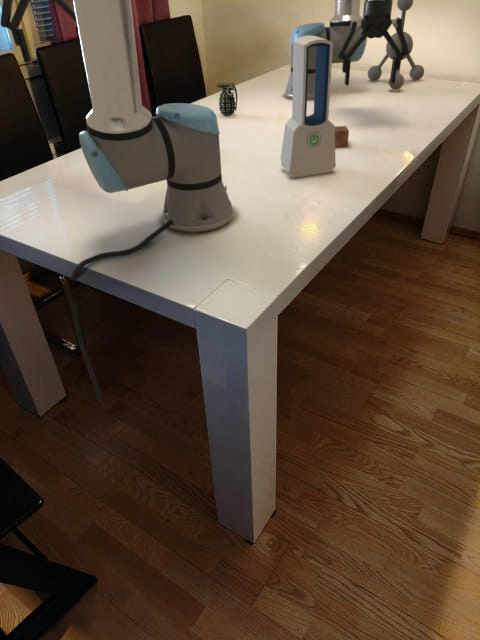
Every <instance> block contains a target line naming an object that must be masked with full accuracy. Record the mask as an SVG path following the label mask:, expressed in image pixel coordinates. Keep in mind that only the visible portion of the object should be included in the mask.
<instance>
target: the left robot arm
mask: <svg viewBox="0 0 480 640" xmlns="http://www.w3.org/2000/svg"><path fill="white" fill-rule="evenodd" d="M53 1H54V2H55V3H56V4H57V5H58V6H59V7H60V8H61V9H62V10H63V11H64V12H65V13H66V14H67V15H68V16H69V17H70V18H71V19H72V20H73V21H74V22H75V23H76V24H77V25H76V26H75V27H74V28H75V33H76V36H77V41H78V45H79V46H78V47H79V50H80V55H81V59H82V60H83V63H84V69H85V73H86V79H87V84H88V85H87V86H88V90H89V95H90V102H91V106H92V109H91V110H90V111H89V112H88V113H87V115H86V116H85V120H86V121H85V123H86V127H87V130H85V129H84V130H82V131H81V132H79V134H78V137H79V138H78V139H79V145H80V148H81V151H82V153H83V157H84V159H85V161H86V163H87V166H88V168H89V170H90V172H91V174H92V177H93V178H94V180H95V181H96V183H97V185H98V186H99V187H100V189H101V190H102V191H104V192H106V193H109V194H114V193H117V192H119V193H120V192H124V191H125V192H128V191H129V190H131V189H136V188H140V187H143V186H147V185H151V184H155V183H160V182H163V181H166V190H165V191H166V192H165V196H164V203H163V207H162V218H163V222H164V224H162V225H161V226H160V227H159V228H157V229H156V230H155V231H153V232H152V233H150V234H149V235H148V236H147V237H145V238H144V239H143V240H142V241H141V242H140V243H138V244H137V245H135V246H132V247H131V248H130V247H129V248H127V249H123V250H114V251H107V252H102V253H98V254H95V255H93V256H90V257H87V258H85V259H84V260H82V261H80V262H79V263H78V264H77V265H76V266H75V268H74V269H73V271H72V273H71V276H70V278H69V279H70V281H72V282H73V281H75V280H77V278H78V276H79V275H80V272H81V270H83V268H84V267H85V266H87V265H89V264H91V263H94V262H97V261H99V260H103V259H106V258H114V257H122V256H128V255H131V254H134V253H136V252H138V251H140V250H141V249H143V248H144V247H145V246H147V245H148V244H149V243H150V242H151V241H152V240H153V239H155V238H156V237H158V236H159V235H160V234H161V233H163V232H164V231H166V230H167V229H168V228H169V229H171V230H173V231H177V232H180V233H190V234H191V233H192V234H193V233H194V234H195V233H196V234H197V233H205V232H206V233H207V232H210V231H215V230H216V229H220V228H222V227H224V226H226V225H227V224H228V223H230V221H231V220H232V218H233V216H234V212H233V211H234V210H233V205H232V201H231V200H230V197H229V195H228V192H227V191H228V188H227V187H228V186H227V185H225V184H224V182H223V175H222V174H223V173H222V161H221V159H222V158H221V147H220V146H221V145H220V133H221V132H220V129H219V124H218V117H217V114H216V112H215V111H214V110H213V109H212V108H209V107H208V106H204V105H201V104H194V103H185V102H179V103H178V102H175V103H173V102H172V103H163V104H161V105H158V106H157V107H156V110H155V116H153V115H152V113H151V111H150V110H148V109H147V108H146V107H145V106H143V100H142V99H143V98H142V90H141V82H140V73H139V63H138V54H137V53H138V52H137V45H136V44H137V43H136V35H135V28H134V18H133V17H134V16H133V7H132V0H71V1H72V3H73V6H72V5H71V4H70V3H69V2H68V1H67V0H53ZM13 2H14V0H2V8H1V15H0V26H1V27H2V28H6V29H9V30H10V31H11V35H12V37H13V38H12V39H13V42H14V45H15V46H16V47H19V49H20V52H21V55H22V59H23V62H24V63H30V62H31V61H32V58H31V54H30V50H29V47H28V43H27V39H26V36H25V32H24V29H23V28H20V25H21V22H22V20H23V17H24V16H25V13H26V11H27V8H28V6H29V3H30V2H31V0H19V1H18V4H17V6H16V9H15V11H14V13H13V16H12V9H13ZM11 17H12V18H11ZM152 117H154V118H152ZM70 305H71V313H72V319H73V325H74V330H75V334H76V338H77V342H78V346H79V349H80V352H81V354H82V358H83V361H84V364H85V366H86V369H87V371H88V374H89V377H90V380H91V382H92V386H93V388H94V391H95V395H96V399H97V401H98V402H102V401H103V400H104V399H103V396H102V392H101V390H100V386H99V383H98V380H97V377H96V374H95V371H94V369H93V366H92V364H91V360H90V357H89V355H88V352H87V349H86V346H85V345H86V344H85V342H84V338H83V334H82V330H81V325H80V319H79V311H78V303H77V300H75V299H72V298H71V299H70Z"/></svg>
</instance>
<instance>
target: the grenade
mask: <svg viewBox="0 0 480 640" xmlns="http://www.w3.org/2000/svg"><path fill="white" fill-rule="evenodd" d="M215 87H217V88H219V89H221V93H219V97H218V101H219V102H218V106H219V108H218V109H219V112H220V114H221V115H222V116H224V117H231V116H233V115H234V113H235V112H236V111H237V108H238V89H237V87H236V85H235V84H234V83H233V82H218V83H217V84H216V86H215ZM232 91H233V92H232ZM234 94H235V96H234Z"/></svg>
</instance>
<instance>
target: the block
mask: <svg viewBox="0 0 480 640" xmlns="http://www.w3.org/2000/svg"><path fill="white" fill-rule="evenodd" d="M349 134H350V130H349V129H348V126H347V125H341V126H335V149H337V148H338V149H340V148H348V147H349V146H348V145H349Z"/></svg>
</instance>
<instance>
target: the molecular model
mask: <svg viewBox="0 0 480 640" xmlns="http://www.w3.org/2000/svg"><path fill="white" fill-rule="evenodd" d="M396 5H397V8H398V10H399V11H401V15H400V18H401V19H402V30H403V33H404V37H405V40H406V43H407V47H408V50H409V54H408V55H405V56H403V57H402V59H401V61H404V60H405V59H406V60H407V62H408V63H409V65H410V67H411V68H410V70H409V78H410V79H411V80H413V81H419V80H421V78H423V77H424V74H425V68H424V67H423V65H421V64H416V63H415V61H414V60H413V58H412V56H411V53H412V51H413V47H414V41H413V40H414V39H413V37H412V36H411V35H410V34H409V33H408V32H407V31H404V28H405V22H406V14H407V11H409V10H410V9H411V8H412V6H413V5H414V0H397V2H396ZM390 36H391V38H392V39H393V41H394V42H395V44H396V45H397V47H398V48H399V50H400V51H402V48H401V45H400V42H399V39H398V36H397V32H396V31H395V32H394V33H393V34H392V35H390ZM385 52H386V53H385V55H384V57H382V59H381V61H380V62H379V64H378V65H371V67H370V68H369V69H368V70H367V78H368V79H369V80H370V81H372V82H376V81H378V80H379V79H380V78H381V77H382V72H383V71H382V67H383V65H384V64H385V63H386V61H387V60H388V59H390V60H392V61H393V57H396V54H395V53H394V51H393V50H392V48H391V47H390V45H389V43H388V42H387V41H386V45H385ZM400 71H401V68H400V69H399V70H396V77H395V83H392V82H391V81H390V78H389V79H388V86H389V87H390V88H391V90H395V91H396V90H399V89H401V88H402V87H403V86H404V85H405V77H404V76H403V74H401V72H400Z"/></svg>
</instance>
